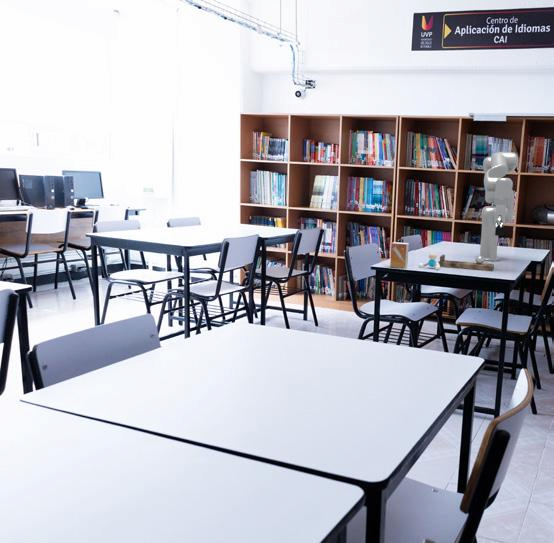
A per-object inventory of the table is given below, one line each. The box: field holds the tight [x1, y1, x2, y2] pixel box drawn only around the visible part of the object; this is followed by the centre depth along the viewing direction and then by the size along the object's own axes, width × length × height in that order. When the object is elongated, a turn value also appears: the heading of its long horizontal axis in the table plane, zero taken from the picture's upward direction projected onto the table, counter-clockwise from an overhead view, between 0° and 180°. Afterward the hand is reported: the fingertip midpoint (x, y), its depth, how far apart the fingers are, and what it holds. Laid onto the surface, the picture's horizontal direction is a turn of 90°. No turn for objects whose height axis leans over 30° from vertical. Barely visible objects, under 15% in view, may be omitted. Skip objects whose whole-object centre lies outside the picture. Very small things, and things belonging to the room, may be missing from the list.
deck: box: [437, 254, 495, 272], centre depth 355 cm, size 28×10×6 cm, turn 68°
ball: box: [475, 255, 485, 264], centre depth 352 cm, size 4×4×4 cm
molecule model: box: [417, 252, 441, 271], centre depth 349 cm, size 12×12×9 cm
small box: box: [389, 241, 410, 269], centre depth 348 cm, size 8×6×13 cm
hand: (499, 234), depth 347 cm, fingers open, 9 cm apart
